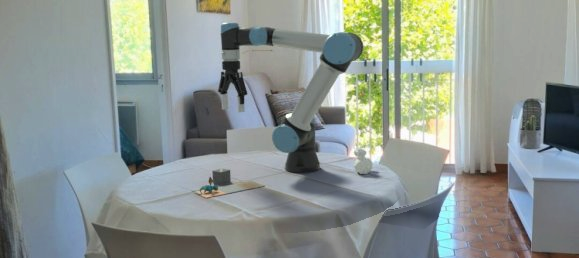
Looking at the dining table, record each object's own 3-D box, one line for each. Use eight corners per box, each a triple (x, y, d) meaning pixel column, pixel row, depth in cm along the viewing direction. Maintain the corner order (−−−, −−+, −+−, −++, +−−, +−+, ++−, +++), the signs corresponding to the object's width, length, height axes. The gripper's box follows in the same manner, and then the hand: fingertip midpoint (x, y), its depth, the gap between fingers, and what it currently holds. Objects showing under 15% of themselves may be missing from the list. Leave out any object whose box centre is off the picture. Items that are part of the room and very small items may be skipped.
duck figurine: (368, 174, 244) (354, 152, 246) (381, 165, 240) (366, 143, 242) (355, 180, 234) (340, 157, 237) (368, 171, 230) (353, 148, 232)
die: (221, 180, 231) (221, 168, 230) (230, 182, 228) (230, 169, 227) (213, 182, 227) (212, 170, 226) (221, 184, 224) (221, 172, 223)
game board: (251, 181, 227) (251, 180, 227) (264, 186, 219) (264, 185, 219) (193, 192, 213) (193, 191, 213) (206, 198, 205) (206, 197, 205)
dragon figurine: (208, 194, 205) (220, 181, 211) (191, 185, 207) (204, 173, 213) (207, 206, 209) (219, 193, 215) (191, 197, 211) (203, 185, 217)
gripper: (208, 60, 245) (211, 108, 249) (238, 61, 225) (240, 114, 229) (224, 59, 250) (226, 107, 253) (254, 60, 230) (256, 112, 233)
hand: (233, 110), depth 241 cm, fingers open, 13 cm apart
